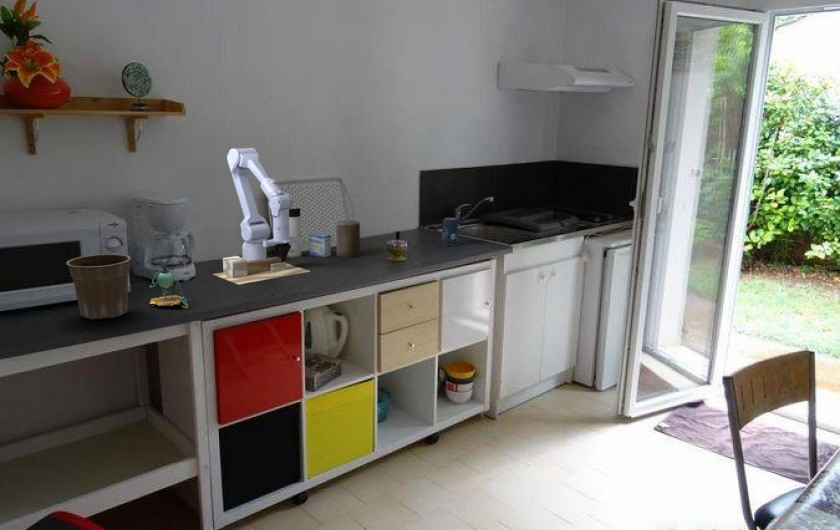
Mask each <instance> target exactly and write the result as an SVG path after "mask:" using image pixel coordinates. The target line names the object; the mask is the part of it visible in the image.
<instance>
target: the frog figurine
mask: <svg viewBox="0 0 840 530" xmlns="http://www.w3.org/2000/svg"><path fill="white" fill-rule="evenodd" d="M158 271H159V269H155V270H153V274H154V275H153V276H154V278H152V280H151V282H152V284H153V286H152V285H151V284H150V285H149V288H150V289H151V288H153V287H154V288H155V287H156V286H157V284H158V285H159V287H161V294H162V296H158V297H159V298H157V297H154V298H153V297H152V298H151V299H150V302H149V304H156V305H158V306H157V307H162V306H163V307H166V306H174V305H179V306H181V307H184V308H188V307H189V303H188V302H187V299H186V298H185V295H183V292H180V295H171V294H172V293H171V292H170V291H169V290H168V288H170V287H171V286H173V284H174V282H175V283H176V288H175V291H177V290H178V285H179V290H180V291H181V290H182V288H181V284H180V282H179V280H178V279H175V277H174V274H173V271H174V269H173V268H172V267H167V260H166V259H164V260H162V270H160V272H158ZM155 279H156V281H155ZM167 293H169V294H170V295H167ZM181 303H182V305H181Z"/></svg>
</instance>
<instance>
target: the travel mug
mask: <svg viewBox="0 0 840 530" xmlns="http://www.w3.org/2000/svg"><path fill="white" fill-rule="evenodd" d="M301 218H302V216H301V208H300V207H299V208H290V209H289V237H300V242H299V243H297V242H296V243H289V244H290V245H291V248H290V250H289V252H288V255H287V258H288V259H297V258H301V257H302V219H301ZM287 258H286V259H287Z"/></svg>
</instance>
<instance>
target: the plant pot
mask: <svg viewBox="0 0 840 530" xmlns="http://www.w3.org/2000/svg"><path fill="white" fill-rule="evenodd" d="M131 260H132V259H131V256H129V255H127V254H121V253H106V254H105V253H103V254H92V255H85V256H79V257H76V258H72V259H70V260H67V262H66V266H68V269H69V273H70V277H71V279H72V280H73V285H74V291H75V294H76V299H77V302H78V308H79V309H78V310H79V315H80V316H81V315H82V316H85V317H91V318H104V319H108V318H107V317H114V316H118V315H122V314H124V313H126V312H127V311H128V310H129V308H128V307H129V305H128V303H129V302H128V301H129V296H128V295H129V294H128V292H129V289H128V288H129V282H128V281H129V279H128V277H129V276H128V275H129V272H130V269H129V268H130V261H131ZM128 312H129V311H128ZM128 312H127V313H128ZM127 313H126V314H127Z"/></svg>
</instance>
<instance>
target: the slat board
mask: <svg viewBox="0 0 840 530" xmlns="http://www.w3.org/2000/svg"><path fill="white" fill-rule="evenodd" d="M222 265H223V267H222V269H223V272H219V273H213V274H212V275H213V276H216V277H219V278H221V279H224V280H226V281H228V282H231V283H234V284H236V285H244V284H248V283H253V282H254V283H255V282H259V281H265V280H270V279H277V278H281V277H288V276H293V275H299V274H303V273H309V272H311V270H309V269H304V268H302V267H298V266H295V265H292V264H290V263H287V262H282V263H276V264H271V271H265V272H260V273H254V274H248V275H247V259H245V258H243V256H241V257H240V256H238V255H233V256H228V257H223V258H222Z"/></svg>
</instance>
